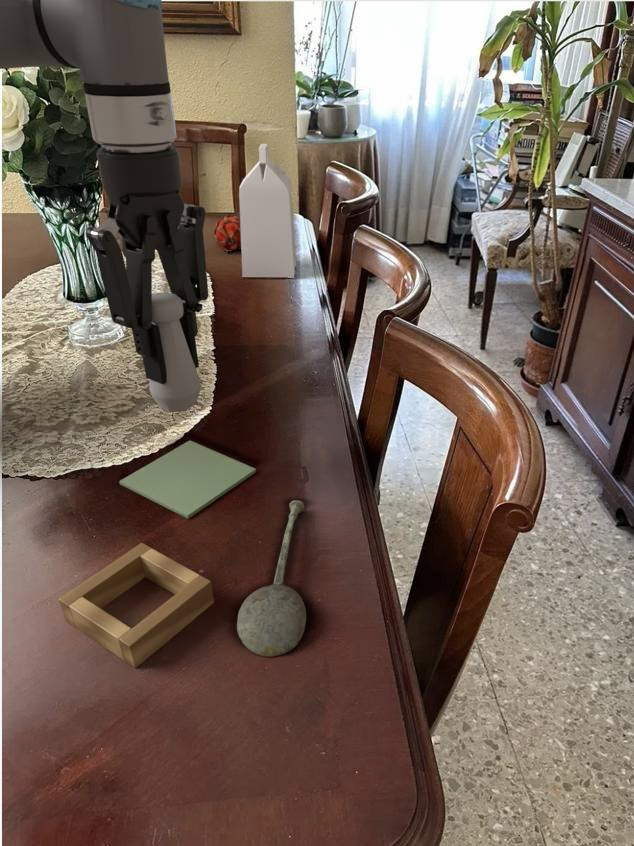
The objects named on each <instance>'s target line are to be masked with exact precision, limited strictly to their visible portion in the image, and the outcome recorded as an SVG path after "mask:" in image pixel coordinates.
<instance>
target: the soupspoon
mask: <svg viewBox="0 0 634 846" xmlns="http://www.w3.org/2000/svg"><path fill="white" fill-rule="evenodd" d="M289 510H290V511H289V512H290V513H289V515H288V522H287V525H286V528H285V531H284V535H283V538H282V539H283V540H282V545H281V548H280V554H279V558H278V561H277V565H276V568H275V574H274V580H273V583H272V584H269V585H266V586H262V587H260V588H258V589H256V590H255V591H253V592H252V593H251V594H249V595H248V596H247V597H246V598H245V600H243V602H242V603H241V606H240V608H239V609H238V614H237V622H236V631H237V635H238V637H239V639H240V641H241V642H242V644H243V645H244V646H245V648H246V649H247V650H249V651H250V652H252V653H254V654H256V655H258V656H261V657H265V658H266V657H268V658H269V657H270V658H273V657H276V656H282V655H284V654H287V653H288V652H291V651H292V650H293V649H294V648H295V647H296V646H298V644H299V643H300V641H301V639H302V637H303V635H304V632H305V629H306V624H307V610H306V606H305V603H304V601H303V598H302V597H301V595H300V594H299V593H298V592H297V591H296V590H295V589H293V588H292V587H289V586H288V585H285V584H284V582H285V581H284V580H285V573H286V566H287V560H288V555H289V550H290V543H291V538H292V534H293V529H294V524H295V521H297V519H298V516H299V514H301V513H302V512H304V510H305V503H304V502H303V501H301V500H298V499H297V500H295V499H294V500H292V501H291V502H290V503H289Z"/></svg>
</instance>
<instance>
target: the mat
mask: <svg viewBox="0 0 634 846" xmlns="http://www.w3.org/2000/svg"><path fill="white" fill-rule="evenodd" d="M256 473H257V469H256V468H255V467H252V466H250V465H248V464H246V463H243V462H240V461H239V460H236V459H234V458H231V457H229V456H227V455H224V454H222V453H220V452H218V451H215V450H213V449H211V448H208V447H206V446H204V445H201V444H199V443H197V442H195V441H192V440H188V441H186V442H185V443H183V444H181V445H179V446H177V447H176V448H174V449H173V450H171V451H169V452H167V453H165V454H164V455H162V456H160V457H159V458H156V459H155V460H153V461H152V462H150V463H148V464H146V465H145V466H143V467H140V469H138V470H136V471H135V472H133V473H131V474H129V475H128V476H126V477H124V478H122V479H120V480H119V482H118V484H119V485H120V486H122V487H124V488H126V489H128V490H130V491H132V492H134V493H136V494H138V495H140V496H142V497H144V498H146V499H147V500H149V501H152V502H153V503H156V504H157V505H159V506H162V507H163V508H165V509H168V510H170V511H171V512H173V513H176V514H177V515H179V516H181V517H183V518H186V519H187V520H189V519H190V518H192V517H193V516H195V515H196V514H198V513H200V511H202V510H203V509H205V508H206V507H208V506H209V505H211V504H212V503H214V502H215V501H216V500H218V499H219V498H221V497H222V496H223V495H225V494H227V493H228V492H229V491H231V490H233V489H234V488H235V487H237V486H238V485H239V484H241V483H242V482H244V481H245V480H247V479H249V478H250V477H252V476H253V475H254V474H256Z"/></svg>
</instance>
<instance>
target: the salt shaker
mask: <svg viewBox="0 0 634 846" xmlns="http://www.w3.org/2000/svg"><path fill="white" fill-rule="evenodd" d="M182 316H183V303H182V300H181V298H180V297H178V296H177V295H175V294H173V293H171V292H168V291H167V292H164V291H163V292H154V293H152V324H154V325H157V326H159V330H160V336H161V342H162V348H163V354H164V360H165V366H166V372H167V383H165V384H161V383H158V382H156V381H153V380H150V379H149V392H150V395H151V396H152V398H153V400H154V401H155V402H156V404H157V405H158V407H159V408H160V409H162V410H164V411H166V412H168V413H178V412H187V411H188V410H190V409H191V408H192V407H194V406H195V405H196V404H197V402H198V399H199V397H200V393H201V390H202V384H201V379H200V375H199V373H198V371H197V368H195V365H194V362H193V359H192V356H191V354H190V351H189V348H188V345H187V342H186V339H185V336H184V333H183V330H182V327H181V324H180V321H179V319H180V318H181V317H182Z"/></svg>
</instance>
